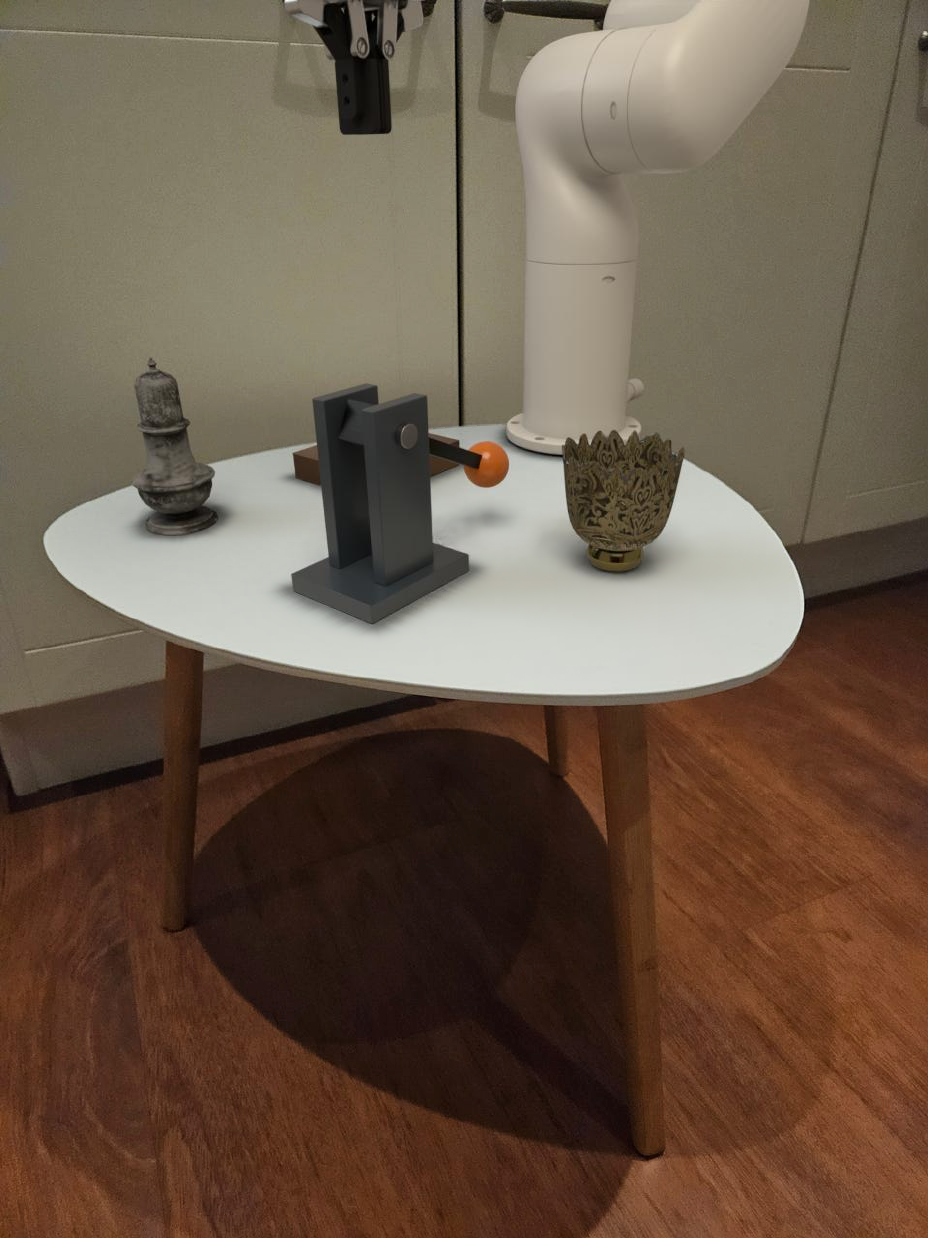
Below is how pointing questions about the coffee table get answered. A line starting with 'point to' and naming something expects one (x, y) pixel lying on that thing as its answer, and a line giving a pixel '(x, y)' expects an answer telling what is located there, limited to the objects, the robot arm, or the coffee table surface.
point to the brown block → (310, 471)
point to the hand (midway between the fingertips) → (365, 133)
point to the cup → (619, 494)
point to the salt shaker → (170, 460)
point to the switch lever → (440, 449)
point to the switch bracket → (376, 509)
